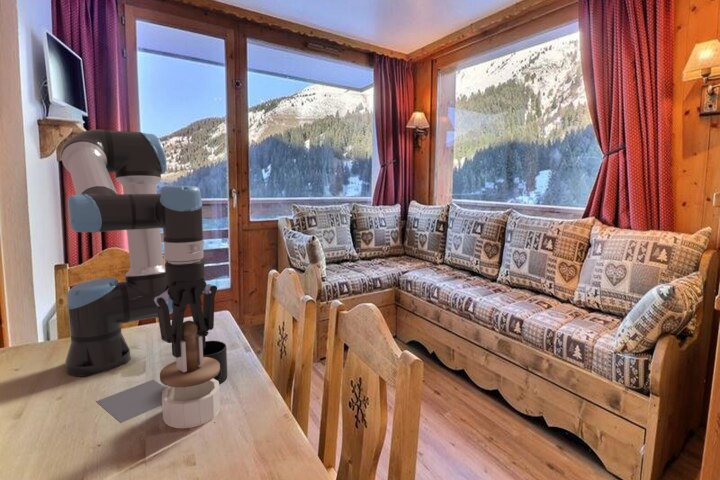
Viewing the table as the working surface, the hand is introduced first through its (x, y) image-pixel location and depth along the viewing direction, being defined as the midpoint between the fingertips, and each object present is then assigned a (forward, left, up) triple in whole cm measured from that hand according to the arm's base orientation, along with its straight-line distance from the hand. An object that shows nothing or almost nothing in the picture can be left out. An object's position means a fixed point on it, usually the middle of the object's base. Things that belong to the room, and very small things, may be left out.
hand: (190, 366), depth 87 cm
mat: (-15, -5, -11) cm, 19 cm away
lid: (0, 0, -2) cm, 2 cm away
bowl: (0, 0, -11) cm, 11 cm away
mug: (-9, +10, -12) cm, 18 cm away
